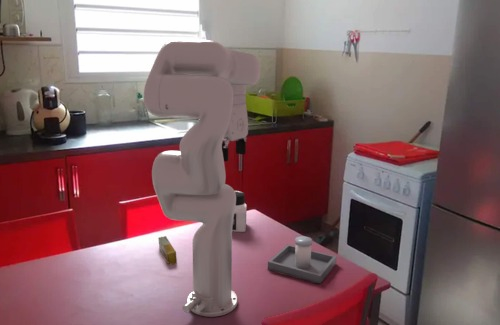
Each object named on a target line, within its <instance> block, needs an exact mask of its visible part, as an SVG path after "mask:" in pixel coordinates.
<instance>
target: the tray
mask: <svg viewBox="0 0 500 325" xmlns="http://www.w3.org/2000/svg"><path fill="white" fill-rule="evenodd" d="M295 247H296V245H292V244H286V245H284V247H283V248H282V249H281V250H279V251H278V252H277V253H276V254H275V255H274V256H273V257H272V258H270V259H269V260H268V261H267V270H268V271H273V272H276V273H279V274H283V275H286V276H289V277H294V278H296V279H300V280H304V281H307V282H310V283H314V284H318V285H320V284H322V282H323V281H324V280H325V278H326V277H327V276H328V275H329V274H330V273H331V271H332V270H333V269H334V267H335V266H336V265H337V258H338V257H337V256H336V255H332V254H328V253H324V252H321V251H317V250H316V251H315V250H312V249H311V262H310V267H309V268H306V269H301V268H298V267H296V266H295Z"/></svg>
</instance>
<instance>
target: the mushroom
mask: <svg viewBox="0 0 500 325" xmlns="http://www.w3.org/2000/svg"><path fill="white" fill-rule="evenodd" d="M294 243H295V246H296V247H295V266H296V267H298V268H301V269H306V268H309V267H310V262H311V250H312V245H313V238H311V237H309V236H305V235H302V236H301V235H300V236H297V237H295V239H294Z"/></svg>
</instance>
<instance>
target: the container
mask: <svg viewBox="0 0 500 325" xmlns="http://www.w3.org/2000/svg"><path fill="white" fill-rule="evenodd" d="M234 191H235V194H236V206H235V212H234V218H233V226H232V232H233V231H234V232H235V233H236V232H238V233H240V232H241V233H243V232H244V233H245V232H246V230H247V207H248V206H247V204H246V203H245V202H246V201H245V200H246V195H245V193H244V192H242V191H239V190H234ZM234 232H233V233H234Z"/></svg>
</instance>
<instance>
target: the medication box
mask: <svg viewBox="0 0 500 325" xmlns="http://www.w3.org/2000/svg"><path fill="white" fill-rule="evenodd" d="M158 249H159V250H160V252H161V254H162V256H163V257H164V259H165V261H166V262H167V264H168V265H174V264H177V263H178V261H177V252H176V250H175V248H174V246H173V245H172V243H171V242H170V240H169V238H168V237H167V236H160V237H158Z"/></svg>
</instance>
